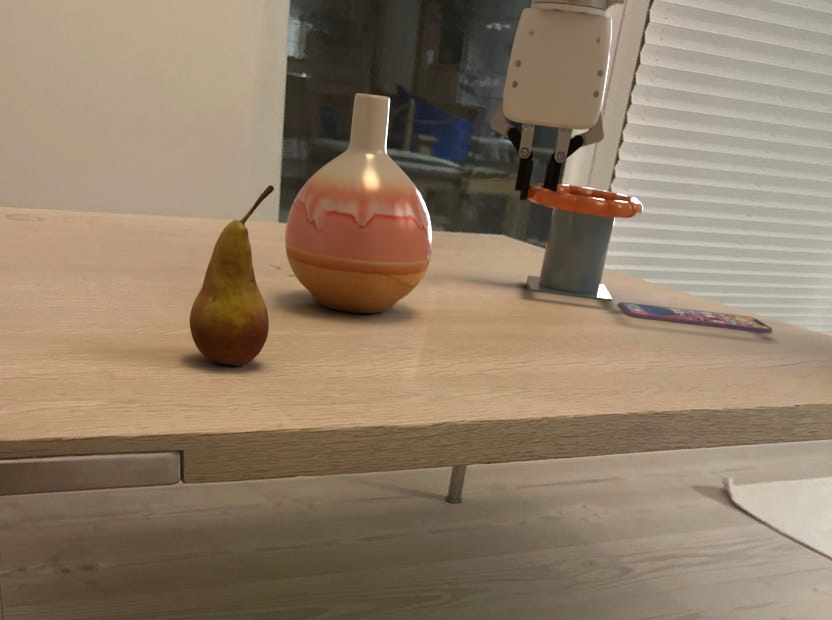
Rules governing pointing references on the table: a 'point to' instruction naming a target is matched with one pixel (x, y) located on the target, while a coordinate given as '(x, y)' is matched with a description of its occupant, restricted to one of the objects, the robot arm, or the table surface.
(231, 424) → the table surface
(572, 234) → the cylinder on square base
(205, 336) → the fruit
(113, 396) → the table surface
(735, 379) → the table surface
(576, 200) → the ring
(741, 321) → the smartphone
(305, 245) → the vase
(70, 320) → the table surface
